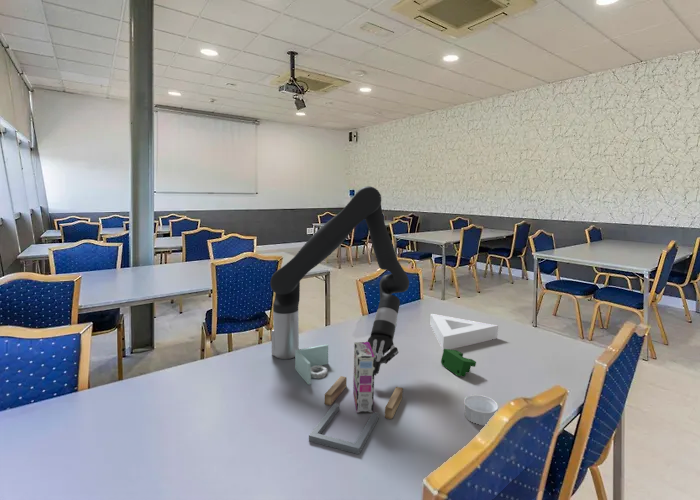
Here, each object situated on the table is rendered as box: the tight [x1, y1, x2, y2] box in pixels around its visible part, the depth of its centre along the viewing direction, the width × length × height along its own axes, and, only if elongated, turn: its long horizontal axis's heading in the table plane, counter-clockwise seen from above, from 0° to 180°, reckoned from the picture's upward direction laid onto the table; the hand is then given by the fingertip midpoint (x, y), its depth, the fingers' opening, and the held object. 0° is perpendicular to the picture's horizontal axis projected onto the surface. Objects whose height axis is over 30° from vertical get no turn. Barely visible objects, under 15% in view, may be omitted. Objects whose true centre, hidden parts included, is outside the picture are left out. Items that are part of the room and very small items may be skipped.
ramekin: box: [463, 394, 499, 427], centre depth 103 cm, size 9×9×4 cm
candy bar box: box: [352, 341, 375, 414], centre depth 108 cm, size 11×5×16 cm, turn 5°
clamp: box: [440, 349, 477, 377], centre depth 131 cm, size 12×6×9 cm, turn 16°
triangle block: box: [429, 313, 499, 352], centre depth 158 cm, size 30×26×6 cm
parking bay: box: [308, 403, 380, 455], centre depth 97 cm, size 13×16×2 cm
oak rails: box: [324, 375, 404, 420], centre depth 110 cm, size 20×12×3 cm, turn 69°
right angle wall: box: [294, 343, 329, 386], centre depth 127 cm, size 12×12×8 cm
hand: (373, 374), depth 117 cm, fingers closed
